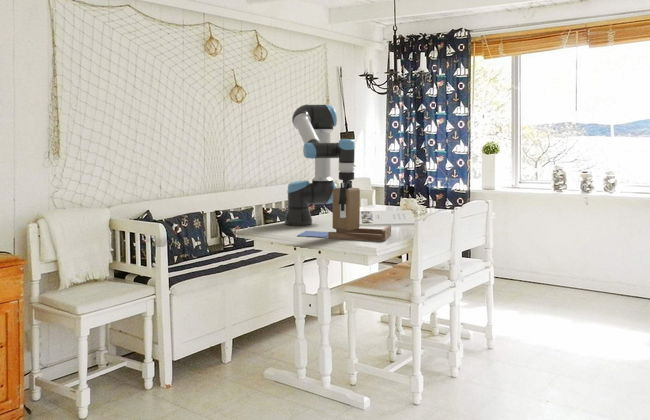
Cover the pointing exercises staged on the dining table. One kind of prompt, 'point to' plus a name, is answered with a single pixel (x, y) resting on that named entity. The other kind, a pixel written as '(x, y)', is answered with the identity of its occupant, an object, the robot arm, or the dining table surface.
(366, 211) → the dining table surface
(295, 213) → the robot arm
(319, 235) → the blue square plate
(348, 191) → the wooden block
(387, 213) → the dining table surface
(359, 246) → the dining table surface
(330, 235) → the frame
